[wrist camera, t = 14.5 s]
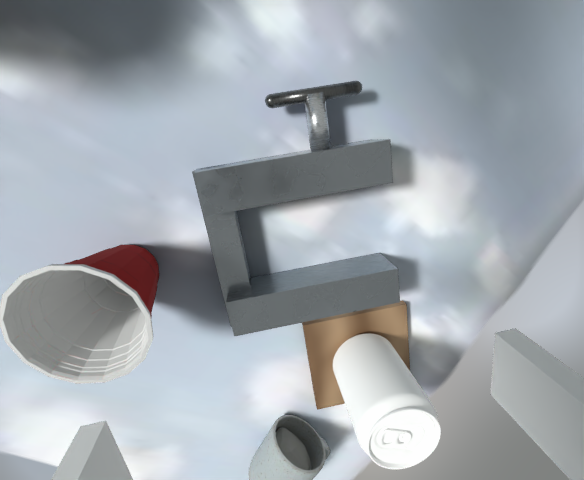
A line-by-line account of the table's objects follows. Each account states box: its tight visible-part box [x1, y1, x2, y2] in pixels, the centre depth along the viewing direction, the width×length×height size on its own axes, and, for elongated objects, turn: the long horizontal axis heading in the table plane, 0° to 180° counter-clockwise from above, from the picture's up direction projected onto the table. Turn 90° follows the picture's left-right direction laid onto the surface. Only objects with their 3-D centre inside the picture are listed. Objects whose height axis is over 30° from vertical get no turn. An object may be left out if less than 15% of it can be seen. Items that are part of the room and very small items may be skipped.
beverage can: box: [333, 333, 441, 469], centre depth 36 cm, size 8×8×12 cm
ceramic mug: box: [249, 415, 330, 480], centre depth 42 cm, size 11×8×8 cm
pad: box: [302, 301, 410, 409], centre depth 42 cm, size 13×13×1 cm
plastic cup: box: [0, 245, 159, 384], centre depth 30 cm, size 11×11×12 cm
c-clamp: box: [192, 81, 400, 336], centre depth 33 cm, size 18×23×5 cm
